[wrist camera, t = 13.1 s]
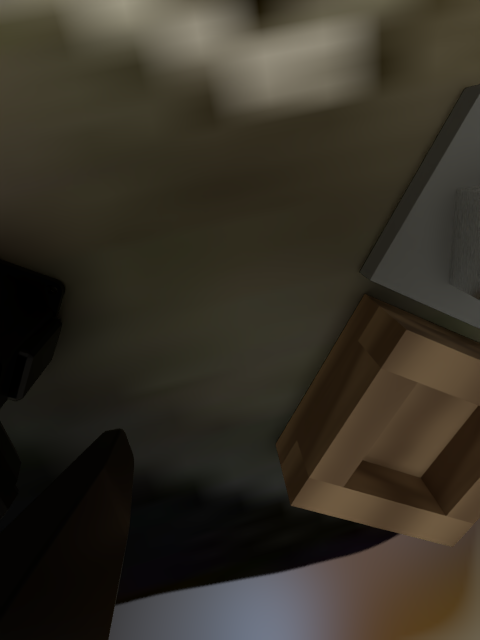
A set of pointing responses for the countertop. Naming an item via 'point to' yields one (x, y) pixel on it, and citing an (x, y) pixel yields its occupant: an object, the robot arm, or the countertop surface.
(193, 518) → the countertop surface
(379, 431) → the brown square tray
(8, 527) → the robot arm
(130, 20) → the countertop surface
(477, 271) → the steel peg
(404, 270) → the rubber pad
